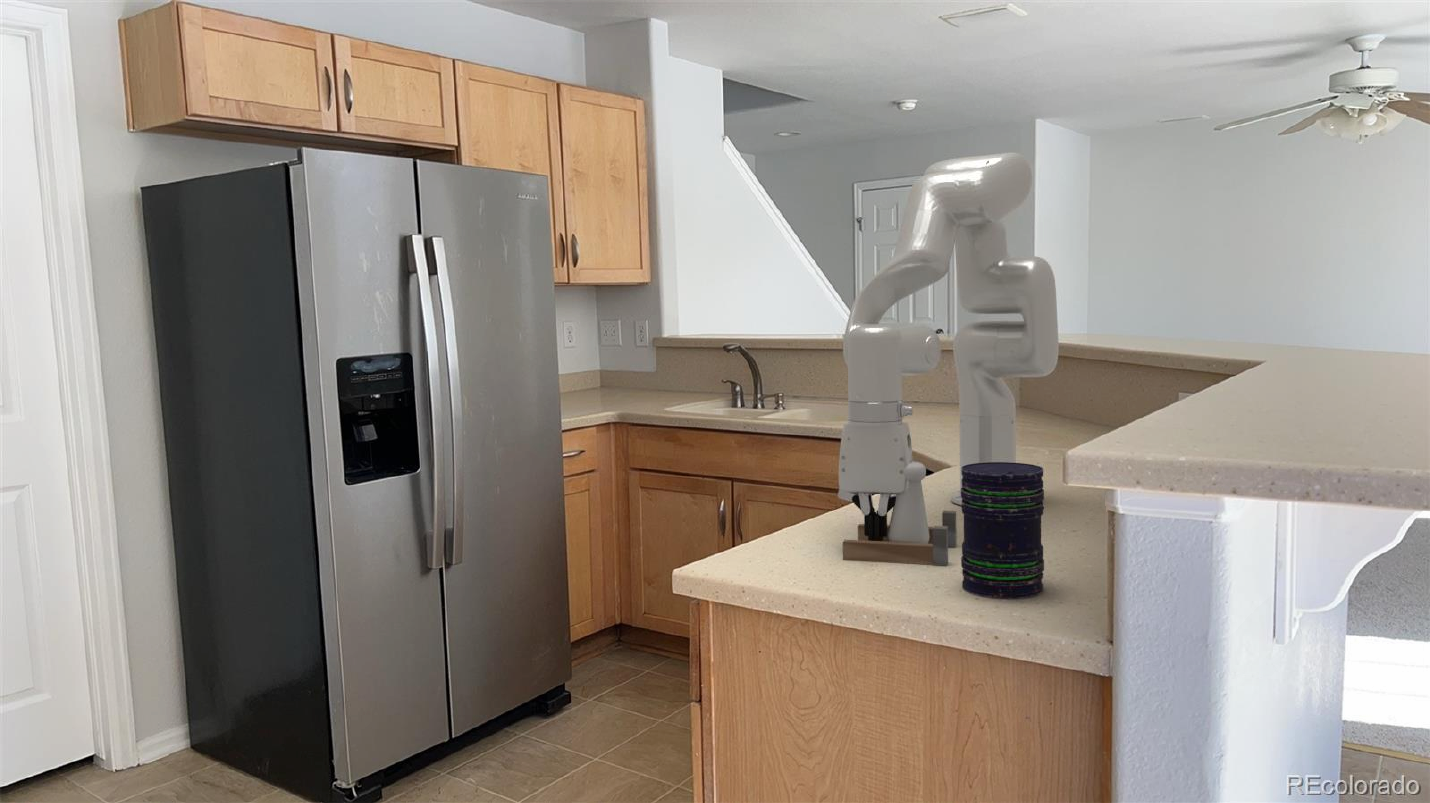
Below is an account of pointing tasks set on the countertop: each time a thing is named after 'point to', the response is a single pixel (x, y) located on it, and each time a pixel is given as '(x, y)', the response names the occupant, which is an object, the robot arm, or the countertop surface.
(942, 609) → the countertop surface
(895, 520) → the salt shaker
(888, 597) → the countertop surface
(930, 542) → the chute
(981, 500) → the dark blue cylinder
